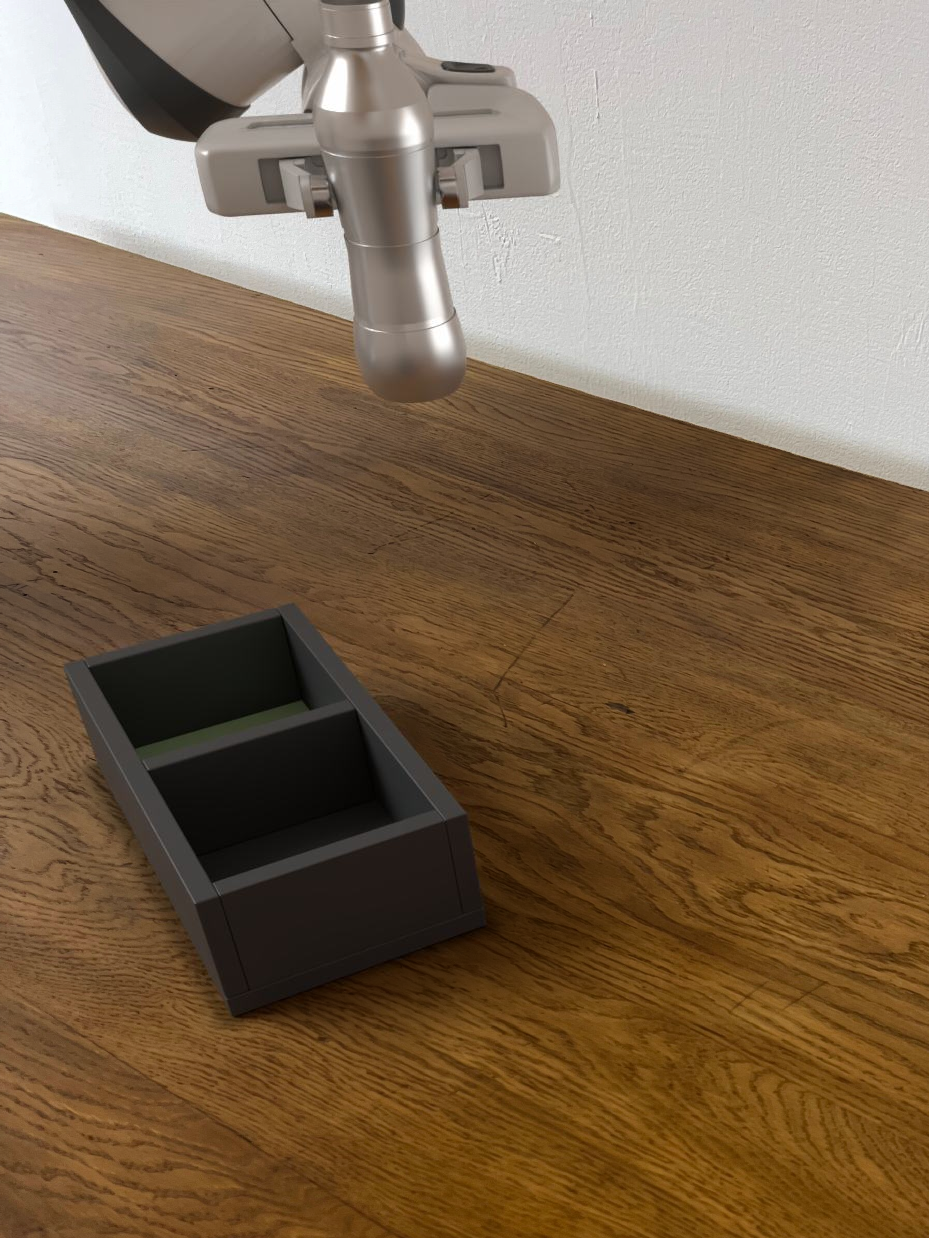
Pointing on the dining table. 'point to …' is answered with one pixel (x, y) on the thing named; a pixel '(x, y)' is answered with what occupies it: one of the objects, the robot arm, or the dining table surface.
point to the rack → (277, 804)
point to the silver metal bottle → (387, 206)
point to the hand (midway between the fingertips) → (386, 197)
